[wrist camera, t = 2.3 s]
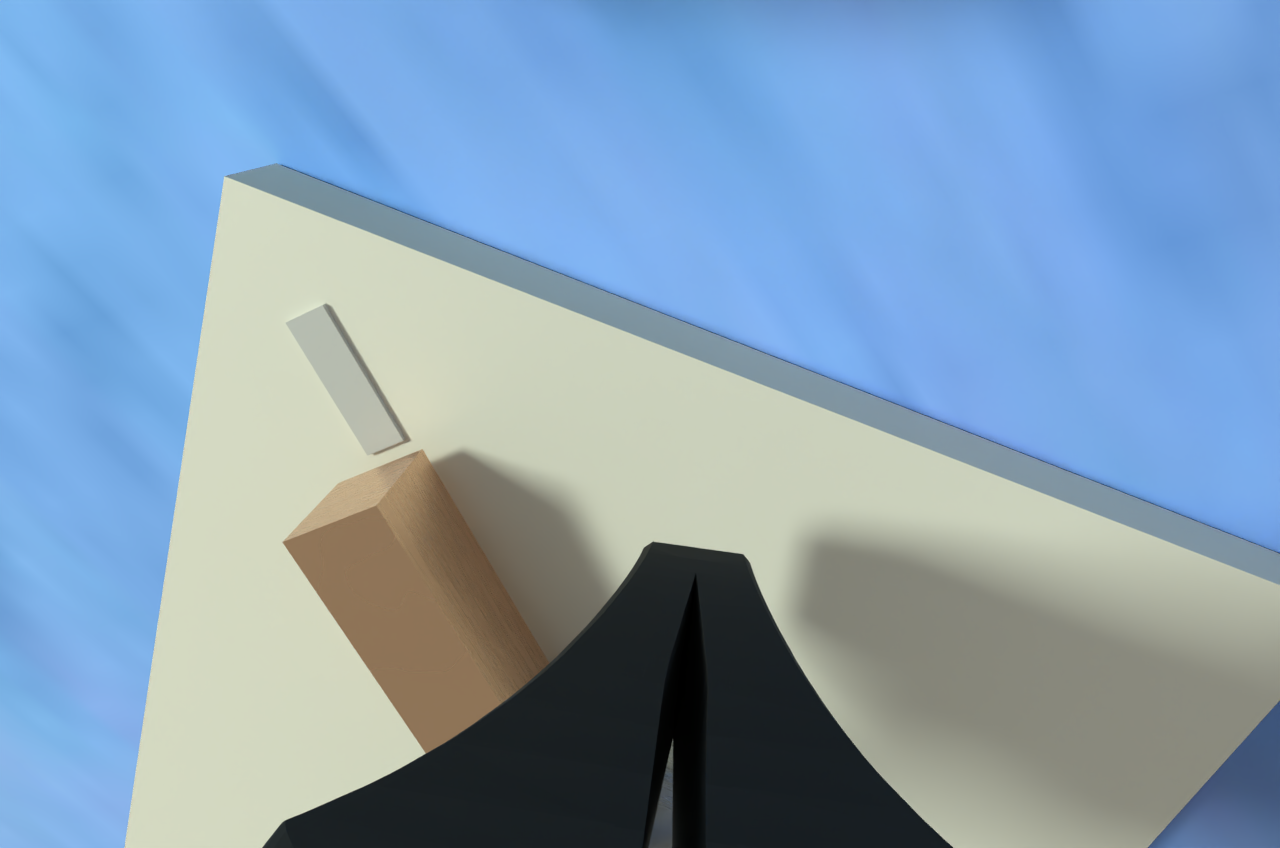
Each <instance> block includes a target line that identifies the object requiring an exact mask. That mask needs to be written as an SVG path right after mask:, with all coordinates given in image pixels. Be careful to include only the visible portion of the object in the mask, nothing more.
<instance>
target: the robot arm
mask: <svg viewBox="0 0 1280 848" xmlns="http://www.w3.org/2000/svg"><path fill="white" fill-rule="evenodd" d="M672 740H673V800H672V848H953V847H952V846H951V845H950V844H949V843H948V842H947V841H945V840H944V839H943V838H942V837H941V836H940V835H939V834H938V833H937V832H936V831H935V830H934V829H933V828H932V827H931V826H930V825H929V824H927V823H926V822H925V821H924V820H923V819H922V818H921V817H920V816H919V815H918V814H917V813H916V812H915V811H914V810H913V809H912V808H911V807H910V805H909V804H908V803H907V802H906V801H905V800H904V799H903V798H902V797H901V796H900V795H899V794H898V793H897V792H896V791H895V790H894V789H893V788H892V787H891V786H890V785H889V784H888V783H887V782H886V781H885V780H884V779H883V778H882V777H881V775H880V774H879V773H878V772H877V771H876V770H875V769H874V768H873V766H872V765H871V764H870V763H869V762H868V761H867V759H866V758H865V757H864V756H863V755H862V753H861V752H860V751H859V750H858V748H857V747H856V746H855V745H854V743H853V742H852V741H851V739H850V738H849V737H848V736H847V734H846V733H845V732H844V731H843V729H842V728H841V727H840V725H839V724H838V723H837V721H836V720H835V718H834V717H833V716H832V714H831V713H830V711H829V710H828V709H827V707H826V706H825V704H824V703H823V701H822V700H821V698H820V697H819V695H818V694H817V692H816V691H815V689H814V688H813V686H812V685H811V683H810V682H809V680H808V678H807V677H806V675H805V674H804V672H803V670H802V669H801V667H800V665H799V664H798V662H797V661H796V659H795V657H794V655H793V654H792V652H791V650H790V648H789V646H788V644H787V643H786V641H785V639H784V637H783V635H782V634H781V632H780V630H779V628H778V626H777V624H776V622H775V620H774V618H773V616H772V614H771V612H770V610H769V608H768V606H767V604H766V602H765V600H764V597H763V595H762V593H761V591H760V588H759V586H758V583H757V581H756V578H755V576H754V573H753V570H752V567H751V564H750V562H749V561H748V559H747V558H746V557H745V556H744V554H739V553H732V552H724V551H717V550H710V549H703V548H696V547H689V546H682V545H674V544H667V543H660V542H652V543H650V544H649V545H647V546H646V547H644V548H643V550H642V552H641V555H640V556H639V558H638V560H637V562H636V563H635V565H634V566H633V568H632V569H631V571H630V572H629V574H628V575H627V577H626V578H625V579H624V581H623V582H622V584H621V585H620V586H619V588H618V589H617V590H616V592H615V593H614V594H613V595H612V596H611V598H610V599H609V600H608V601H607V602H606V604H605V605H604V606H603V607H602V609H601V610H600V611H599V612H598V613H597V615H596V616H595V617H594V618H593V619H592V620H591V622H590V623H589V624H588V625H587V626H586V627H585V628H584V629H583V630H582V631H581V632H580V633H579V634H578V635H577V636H576V637H575V638H574V639H573V640H572V641H571V642H570V643H569V644H568V645H567V646H566V648H565V649H564V650H563V651H562V652H561V653H560V654H559V655H558V656H557V657H556V658H555V659H554V660H552V661H551V662H550V663H549V664H548V665H547V666H546V667H545V668H544V669H543V670H542V671H540V672H539V673H538V674H537V675H536V676H535V677H534V678H532V679H531V680H530V681H529V682H528V683H526V684H525V685H524V686H523V687H522V688H520V689H519V690H518V691H517V692H515V693H514V694H513V695H512V696H511V697H509V698H508V699H507V700H505V701H504V702H503V703H501V704H500V705H499V706H497V707H496V708H494V709H493V710H492V711H490V712H489V713H488V714H486V715H485V716H483V717H482V718H481V719H479V720H478V721H477V722H475V723H474V724H472V725H471V726H470V727H468V728H467V729H465V730H464V731H462V732H461V733H459V734H457V735H456V736H454V737H453V738H451V739H450V740H448V741H447V742H445V743H443V744H442V745H440V746H438V747H436V748H435V749H433V750H431V751H429V752H428V753H426V754H424V755H422V756H421V757H419V758H417V759H415V760H414V761H412V762H410V763H409V764H407V765H405V766H403V767H402V768H400V769H398V770H396V771H394V772H392V773H390V774H388V775H386V776H384V777H382V778H380V779H378V780H376V781H374V782H372V783H370V784H368V785H366V786H364V787H361V788H359V789H357V790H355V791H352V792H350V793H348V794H345V795H343V796H341V797H339V798H336V799H334V800H332V801H330V802H327V803H325V804H323V805H321V806H318V807H316V808H314V809H311V810H309V811H307V812H305V813H302V814H300V815H297V816H295V817H292V818H290V819H287V820H285V821H283V822H282V823H281V824H280V826H279V827H278V828H277V829H276V831H275V832H274V833H273V834H272V836H271V837H270V838H269V839H268V841H267V842H266V843H265V845H264V846H263V847H262V848H649V844H650V839H651V835H652V830H653V826H654V821H655V817H656V812H657V808H658V803H659V799H660V794H661V790H662V785H663V781H664V776H665V772H666V767H667V763H668V758H669V754H670V749H671V744H672Z"/></svg>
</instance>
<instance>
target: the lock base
mask: <svg viewBox="0 0 1280 848" xmlns="http://www.w3.org/2000/svg"><path fill="white" fill-rule="evenodd" d="M421 449H423V451H424V452H425V454H426V456H427V457H428V459H429V461H430V462H431V464H432V466H433V467H434V469H435V471H436V473H437V474H438V476H439V478H440V479H441V481H442V483H443V484H444V486H445V488H446V489H447V491H448V493H449V495H450V496H451V498H452V500H453V501H454V503H455V505H456V506H457V508H458V510H459V511H460V513H461V515H462V516H463V518H464V520H465V522H466V523H467V525H468V527H469V528H470V530H471V532H472V533H473V535H474V537H475V538H476V540H477V542H478V544H479V545H480V547H481V549H482V550H483V552H484V554H485V555H486V557H487V559H488V560H489V562H490V564H491V565H492V567H493V569H494V571H495V572H496V574H497V576H498V577H499V579H500V581H501V582H502V584H503V586H504V587H505V589H506V591H507V593H508V594H509V596H510V598H511V599H512V601H513V603H514V604H515V606H516V608H517V609H518V611H519V613H520V615H521V616H522V618H523V620H524V621H525V623H526V625H527V626H528V628H529V630H530V631H531V633H532V635H533V636H534V638H535V640H536V642H537V643H538V645H539V647H540V648H541V650H542V652H543V653H544V655H545V657H546V658H547V660H548V662H549V663H550V662H551V661H552V660H554V659H555V658H556V657H557V656H558V655H559V654H560V653H561V652H562V651H563V650H564V649H565V648H566V646H567V645H568V644H569V643H570V642H571V641H572V640H573V639H574V638H575V637H576V636H577V635H578V634H579V633H580V632H581V631H582V630H583V629H584V628H585V627H586V626H587V625H588V624H589V623H590V622H591V620H592V619H593V618H594V617H595V616H596V615H597V613H598V612H599V611H600V610H601V609H602V607H603V606H604V605H605V604H606V602H607V601H608V600H609V599H610V598H611V596H612V595H613V594H614V593H615V592H616V590H617V589H618V588H619V586H620V585H621V584H622V582H623V581H624V579H625V578H626V577H627V575H628V574H629V572H630V571H631V569H632V568H633V566H634V565H635V563H636V562H637V560H638V558H639V556H640V555H641V552H642V550H643V548H644V547H646V546H647V545H649V544H650V543H652V542H660V543H667V544H674V545H682V546H689V547H696V548H703V549H710V550H717V551H724V552H732V553H739V554H744V556H745V557H746V558H747V559H748V561H749V562H750V564H751V567H752V570H753V573H754V576H755V578H756V581H757V583H758V586H759V588H760V591H761V593H762V595H763V597H764V600H765V602H766V604H767V606H768V608H769V610H770V612H771V614H772V616H773V618H774V620H775V622H776V624H777V626H778V628H779V630H780V632H781V634H782V635H783V637H784V639H785V641H786V643H787V644H788V646H789V648H790V650H791V652H792V654H793V655H794V657H795V659H796V661H797V662H798V664H799V665H800V667H801V669H802V670H803V672H804V674H805V675H806V677H807V678H808V680H809V682H810V683H811V685H812V686H813V688H814V689H815V691H816V692H817V694H818V695H819V697H820V698H821V700H822V701H823V703H824V704H825V706H826V707H827V709H828V710H829V711H830V713H831V714H832V716H833V717H834V718H835V720H836V721H837V723H838V724H839V725H840V727H841V728H842V729H843V731H844V732H845V733H846V734H847V736H848V737H849V738H850V739H851V741H852V742H853V743H854V745H855V746H856V747H857V748H858V750H859V751H860V752H861V753H862V755H863V756H864V757H865V758H866V759H867V761H868V762H869V763H870V764H871V765H872V766H873V768H874V769H875V770H876V771H877V772H878V773H879V774H880V775H881V777H882V778H883V779H884V780H885V781H886V782H887V783H888V784H889V785H890V786H891V787H892V788H893V789H894V790H895V791H896V792H897V793H898V794H899V795H900V796H901V797H902V798H903V799H904V800H905V801H906V802H907V803H908V804H909V805H910V807H911V808H912V809H913V810H914V811H915V812H916V813H917V814H918V815H919V816H920V817H921V818H922V819H923V820H924V821H925V822H926V823H927V824H929V825H930V826H931V827H932V828H933V829H934V830H935V831H936V832H937V833H938V834H939V835H940V836H941V837H942V838H943V839H944V840H945V841H947V842H948V843H949V844H950V845H951V846H952V847H953V848H1148V846H1149V845H1150V844H1151V843H1152V842H1153V841H1154V840H1155V839H1156V838H1157V836H1158V835H1159V834H1160V833H1161V832H1162V831H1163V830H1164V829H1165V828H1166V826H1167V825H1168V824H1169V823H1170V822H1171V821H1172V820H1173V819H1174V818H1175V816H1176V815H1177V814H1178V813H1179V812H1180V811H1181V810H1182V809H1183V808H1184V806H1185V805H1186V804H1187V803H1188V802H1189V801H1190V800H1191V799H1192V798H1193V796H1194V795H1195V794H1196V793H1197V792H1198V791H1199V790H1200V789H1201V787H1202V786H1203V785H1204V784H1205V783H1206V782H1207V781H1208V780H1209V779H1210V777H1211V776H1212V775H1213V774H1214V773H1215V772H1216V771H1217V770H1218V769H1219V767H1220V766H1221V765H1222V764H1223V763H1224V762H1225V761H1226V760H1227V759H1228V757H1229V756H1230V755H1231V754H1232V753H1233V752H1234V751H1235V750H1236V749H1237V747H1238V746H1239V745H1240V744H1241V743H1242V742H1243V741H1244V740H1245V739H1246V737H1247V736H1248V735H1249V734H1250V733H1251V732H1252V731H1253V730H1254V728H1255V727H1256V726H1257V725H1258V724H1259V723H1260V722H1261V721H1262V720H1263V718H1264V717H1265V716H1266V715H1267V714H1268V713H1269V712H1270V711H1271V710H1272V708H1273V707H1274V706H1275V705H1276V704H1277V703H1278V702H1279V701H1280V553H1277V552H1274V551H1272V550H1269V549H1267V548H1264V547H1262V546H1259V545H1256V544H1254V543H1251V542H1249V541H1246V540H1244V539H1241V538H1238V537H1236V536H1233V535H1231V534H1228V533H1226V532H1223V531H1220V530H1218V529H1215V528H1213V527H1210V526H1208V525H1205V524H1202V523H1200V522H1197V521H1195V520H1192V519H1190V518H1187V517H1184V516H1182V515H1179V514H1177V513H1174V512H1172V511H1169V510H1166V509H1164V508H1161V507H1159V506H1156V505H1154V504H1151V503H1148V502H1146V501H1143V500H1141V499H1138V498H1136V497H1133V496H1130V495H1128V494H1125V493H1123V492H1120V491H1118V490H1115V489H1112V488H1110V487H1107V486H1105V485H1102V484H1100V483H1097V482H1094V481H1092V480H1089V479H1087V478H1084V477H1082V476H1079V475H1076V474H1074V473H1071V472H1069V471H1066V470H1064V469H1061V468H1058V467H1056V466H1053V465H1051V464H1048V463H1046V462H1043V461H1040V460H1038V459H1035V458H1033V457H1030V456H1028V455H1025V454H1022V453H1020V452H1017V451H1015V450H1012V449H1010V448H1007V447H1004V446H1002V445H999V444H997V443H994V442H992V441H989V440H986V439H984V438H981V437H979V436H976V435H974V434H971V433H968V432H966V431H963V430H961V429H958V428H956V427H953V426H950V425H948V424H945V423H943V422H940V421H938V420H935V419H932V418H930V417H927V416H925V415H922V414H920V413H917V412H914V411H912V410H909V409H907V408H904V407H902V406H899V405H896V404H894V403H891V402H889V401H886V400H884V399H881V398H878V397H876V396H873V395H871V394H868V393H866V392H863V391H860V390H858V389H855V388H853V387H850V386H848V385H845V384H842V383H840V382H837V381H835V380H832V379H830V378H827V377H824V376H822V375H819V374H817V373H814V372H812V371H809V370H806V369H804V368H801V367H799V366H796V365H794V364H791V363H788V362H786V361H783V360H781V359H778V358H776V357H773V356H770V355H768V354H765V353H763V352H760V351H758V350H755V349H752V348H750V347H747V346H745V345H742V344H740V343H737V342H734V341H732V340H729V339H727V338H724V337H722V336H719V335H716V334H714V333H711V332H709V331H706V330H703V329H701V328H698V327H696V326H693V325H691V324H688V323H686V322H683V321H680V320H678V319H675V318H673V317H670V316H668V315H665V314H662V313H660V312H657V311H655V310H652V309H649V308H647V307H644V306H642V305H639V304H637V303H634V302H631V301H629V300H626V299H624V298H621V297H619V296H616V295H613V294H611V293H608V292H606V291H603V290H601V289H598V288H595V287H593V286H590V285H588V284H585V283H583V282H580V281H577V280H575V279H572V278H570V277H567V276H565V275H562V274H559V273H557V272H554V271H552V270H549V269H547V268H544V267H541V266H539V265H536V264H534V263H531V262H529V261H526V260H523V259H521V258H518V257H516V256H513V255H511V254H508V253H505V252H503V251H500V250H498V249H495V248H493V247H490V246H487V245H485V244H482V243H480V242H477V241H475V240H472V239H469V238H467V237H464V236H462V235H459V234H457V233H454V232H451V231H449V230H446V229H444V228H441V227H439V226H436V225H433V224H431V223H428V222H426V221H423V220H421V219H418V218H415V217H413V216H410V215H408V214H405V213H403V212H400V211H397V210H395V209H392V208H390V207H387V206H385V205H382V204H379V203H377V202H374V201H372V200H369V199H367V198H364V197H361V196H359V195H356V194H354V193H351V192H349V191H346V190H343V189H341V188H338V187H336V186H333V185H331V184H328V183H325V182H323V181H320V180H318V179H315V178H313V177H310V176H307V175H305V174H302V173H300V172H297V171H295V170H292V169H289V168H287V167H284V166H282V165H279V164H277V163H276V164H272V165H268V166H264V167H260V168H256V169H252V170H248V171H244V172H240V173H236V174H232V175H228V176H224V183H223V189H222V196H221V203H220V210H219V216H218V223H217V230H216V236H215V243H214V250H213V257H212V263H211V270H210V277H209V284H208V290H207V297H206V304H205V310H204V317H203V324H202V331H201V337H200V344H199V351H198V357H197V364H196V371H195V378H194V384H193V391H192V398H191V404H190V411H189V418H188V425H187V431H186V438H185V445H184V451H183V458H182V465H181V472H180V478H179V485H178V492H177V499H176V505H175V512H174V519H173V525H172V532H171V539H170V546H169V552H168V559H167V566H166V572H165V579H164V586H163V593H162V599H161V606H160V613H159V619H158V626H157V633H156V640H155V646H154V653H153V660H152V667H151V673H150V680H149V687H148V693H147V700H146V707H145V714H144V720H143V727H142V734H141V740H140V747H139V754H138V761H137V767H136V774H135V781H134V787H133V794H132V801H131V808H130V814H129V821H128V828H127V834H126V841H125V848H262V847H263V846H264V845H265V843H266V842H267V841H268V839H269V838H270V837H271V836H272V834H273V833H274V832H275V831H276V829H277V828H278V827H279V826H280V824H281V823H282V822H283V821H285V820H287V819H290V818H292V817H295V816H297V815H300V814H302V813H305V812H307V811H309V810H311V809H314V808H316V807H318V806H321V805H323V804H325V803H327V802H330V801H332V800H334V799H336V798H339V797H341V796H343V795H345V794H348V793H350V792H352V791H355V790H357V789H359V788H361V787H364V786H366V785H368V784H370V783H372V782H374V781H376V780H378V779H380V778H382V777H384V776H386V775H388V774H390V773H392V772H394V771H396V770H398V769H400V768H402V767H403V766H405V765H407V764H409V763H410V762H412V761H414V760H415V759H417V758H419V757H421V756H422V755H424V754H426V753H425V752H424V750H423V749H422V747H421V746H420V744H419V743H418V741H417V740H416V738H415V737H414V735H413V734H412V732H411V731H410V730H409V728H408V727H407V725H406V724H405V722H404V721H403V719H402V718H401V716H400V715H399V713H398V712H397V710H396V709H395V707H394V706H393V704H392V703H391V702H390V700H389V699H388V697H387V696H386V694H385V693H384V691H383V690H382V688H381V687H380V685H379V684H378V682H377V681H376V679H375V678H374V677H373V675H372V674H371V672H370V671H369V669H368V668H367V666H366V665H365V663H364V662H363V660H362V659H361V657H360V656H359V654H358V653H357V651H356V650H355V649H354V647H353V646H352V644H351V643H350V641H349V640H348V638H347V637H346V635H345V634H344V632H343V631H342V629H341V628H340V626H339V625H338V624H337V622H336V621H335V619H334V618H333V616H332V615H331V613H330V612H329V610H328V609H327V607H326V606H325V604H324V603H323V601H322V600H321V598H320V597H319V596H318V594H317V593H316V591H315V590H314V588H313V587H312V585H311V584H310V582H309V581H308V579H307V578H306V576H305V575H304V573H303V572H302V571H301V569H300V568H299V566H298V565H297V563H296V562H295V560H294V559H293V557H292V556H291V554H290V553H289V551H288V550H287V548H286V547H285V546H284V544H283V543H282V542H283V541H284V540H285V539H286V538H287V537H288V536H289V534H290V533H291V532H292V531H293V530H294V529H295V528H296V527H297V526H298V525H299V524H300V523H301V522H302V521H303V520H304V519H305V518H306V517H307V516H308V514H309V513H310V512H311V511H312V510H313V509H314V508H315V507H316V506H317V505H318V504H319V503H320V502H321V501H322V500H323V499H324V498H325V497H326V495H327V494H328V493H329V492H330V491H331V490H332V489H333V488H334V487H335V486H336V485H337V484H338V483H340V482H342V481H345V480H347V479H350V478H352V477H355V476H357V475H359V474H362V473H364V472H367V471H369V470H372V469H374V468H377V467H379V466H382V465H384V464H387V463H389V462H392V461H394V460H397V459H399V458H401V457H404V456H406V455H409V454H411V453H414V452H416V451H419V450H421Z"/></svg>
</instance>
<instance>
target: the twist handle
mask: <svg viewBox="0 0 1280 848" xmlns="http://www.w3.org/2000/svg"><path fill="white" fill-rule="evenodd" d="M282 543H283V544H284V546H285V547H286V548H287V550H288V551H289V553H290V554H291V556H292V557H293V559H294V560H295V562H296V563H297V565H298V566H299V568H300V569H301V571H302V572H303V573H304V575H305V576H306V578H307V579H308V581H309V582H310V584H311V585H312V587H313V588H314V590H315V591H316V593H317V594H318V596H319V597H320V598H321V600H322V601H323V603H324V604H325V606H326V607H327V609H328V610H329V612H330V613H331V615H332V616H333V618H334V619H335V621H336V622H337V624H338V625H339V626H340V628H341V629H342V631H343V632H344V634H345V635H346V637H347V638H348V640H349V641H350V643H351V644H352V646H353V647H354V649H355V650H356V651H357V653H358V654H359V656H360V657H361V659H362V660H363V662H364V663H365V665H366V666H367V668H368V669H369V671H370V672H371V674H372V675H373V677H374V678H375V679H376V681H377V682H378V684H379V685H380V687H381V688H382V690H383V691H384V693H385V694H386V696H387V697H388V699H389V700H390V702H391V703H392V704H393V706H394V707H395V709H396V710H397V712H398V713H399V715H400V716H401V718H402V719H403V721H404V722H405V724H406V725H407V727H408V728H409V730H410V731H411V732H412V734H413V735H414V737H415V738H416V740H417V741H418V743H419V744H420V746H421V747H422V749H423V750H424V752H425V753H428V752H429V751H431V750H433V749H435V748H436V747H438V746H440V745H442V744H443V743H445V742H447V741H448V740H450V739H451V738H453V737H454V736H456V735H457V734H459V733H461V732H462V731H464V730H465V729H467V728H468V727H470V726H471V725H472V724H474V723H475V722H477V721H478V720H479V719H481V718H482V717H483V716H485V715H486V714H488V713H489V712H490V711H492V710H493V709H494V708H496V707H497V706H499V705H500V704H501V703H503V702H504V701H505V700H507V699H508V698H509V697H511V696H512V695H513V694H514V693H515V692H517V691H518V690H519V689H520V688H522V687H523V686H524V685H525V684H526V683H528V682H529V681H530V680H531V679H532V678H534V677H535V676H536V675H537V674H538V673H539V672H540V671H542V670H543V669H544V668H545V667H546V666H547V665H548V664H549V662H548V660H547V658H546V657H545V655H544V653H543V652H542V650H541V648H540V647H539V645H538V643H537V642H536V640H535V638H534V636H533V635H532V633H531V631H530V630H529V628H528V626H527V625H526V623H525V621H524V620H523V618H522V616H521V615H520V613H519V611H518V609H517V608H516V606H515V604H514V603H513V601H512V599H511V598H510V596H509V594H508V593H507V591H506V589H505V587H504V586H503V584H502V582H501V581H500V579H499V577H498V576H497V574H496V572H495V571H494V569H493V567H492V565H491V564H490V562H489V560H488V559H487V557H486V555H485V554H484V552H483V550H482V549H481V547H480V545H479V544H478V542H477V540H476V538H475V537H474V535H473V533H472V532H471V530H470V528H469V527H468V525H467V523H466V522H465V520H464V518H463V516H462V515H461V513H460V511H459V510H458V508H457V506H456V505H455V503H454V501H453V500H452V498H451V496H450V495H449V493H448V491H447V489H446V488H445V486H444V484H443V483H442V481H441V479H440V478H439V476H438V474H437V473H436V471H435V469H434V467H433V466H432V464H431V462H430V461H429V459H428V457H427V456H426V454H425V452H424V451H423V449H421V450H419V451H416V452H414V453H411V454H409V455H406V456H404V457H401V458H399V459H397V460H394V461H392V462H389V463H387V464H384V465H382V466H379V467H377V468H374V469H372V470H369V471H367V472H364V473H362V474H359V475H357V476H355V477H352V478H350V479H347V480H345V481H342V482H340V483H338V484H337V485H336V486H335V487H334V488H333V489H332V490H331V491H330V492H329V493H328V494H327V495H326V497H325V498H324V499H323V500H322V501H321V502H320V503H319V504H318V505H317V506H316V507H315V508H314V509H313V510H312V511H311V512H310V513H309V514H308V516H307V517H306V518H305V519H304V520H303V521H302V522H301V523H300V524H299V525H298V526H297V527H296V528H295V529H294V530H293V531H292V532H291V533H290V534H289V536H288V537H287V538H286V539H285V540H284V541H283V542H282ZM672 800H673V740H672V744H671V749H670V754H669V758H668V763H667V767H666V772H665V776H664V781H663V785H662V790H661V794H660V799H659V803H658V808H657V812H656V817H655V821H654V826H653V830H652V835H651V839H650V844H649V848H672Z"/></svg>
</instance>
